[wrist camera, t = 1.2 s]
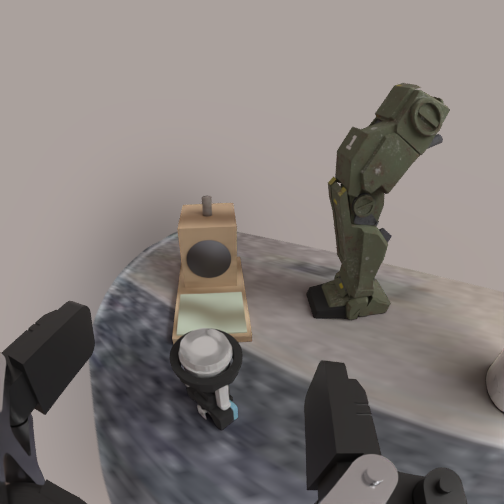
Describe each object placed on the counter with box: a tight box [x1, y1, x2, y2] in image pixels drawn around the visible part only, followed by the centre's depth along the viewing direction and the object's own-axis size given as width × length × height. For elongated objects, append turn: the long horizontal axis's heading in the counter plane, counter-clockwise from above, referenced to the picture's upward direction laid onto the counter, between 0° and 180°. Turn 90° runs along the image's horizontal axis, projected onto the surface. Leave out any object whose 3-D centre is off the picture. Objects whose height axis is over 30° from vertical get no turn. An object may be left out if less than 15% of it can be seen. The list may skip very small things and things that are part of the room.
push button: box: [170, 328, 242, 430], centre depth 23 cm, size 7×5×10 cm
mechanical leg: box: [307, 83, 450, 320], centre depth 31 cm, size 14×7×30 cm, turn 93°
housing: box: [172, 196, 252, 344], centre depth 36 cm, size 16×9×12 cm, turn 7°
